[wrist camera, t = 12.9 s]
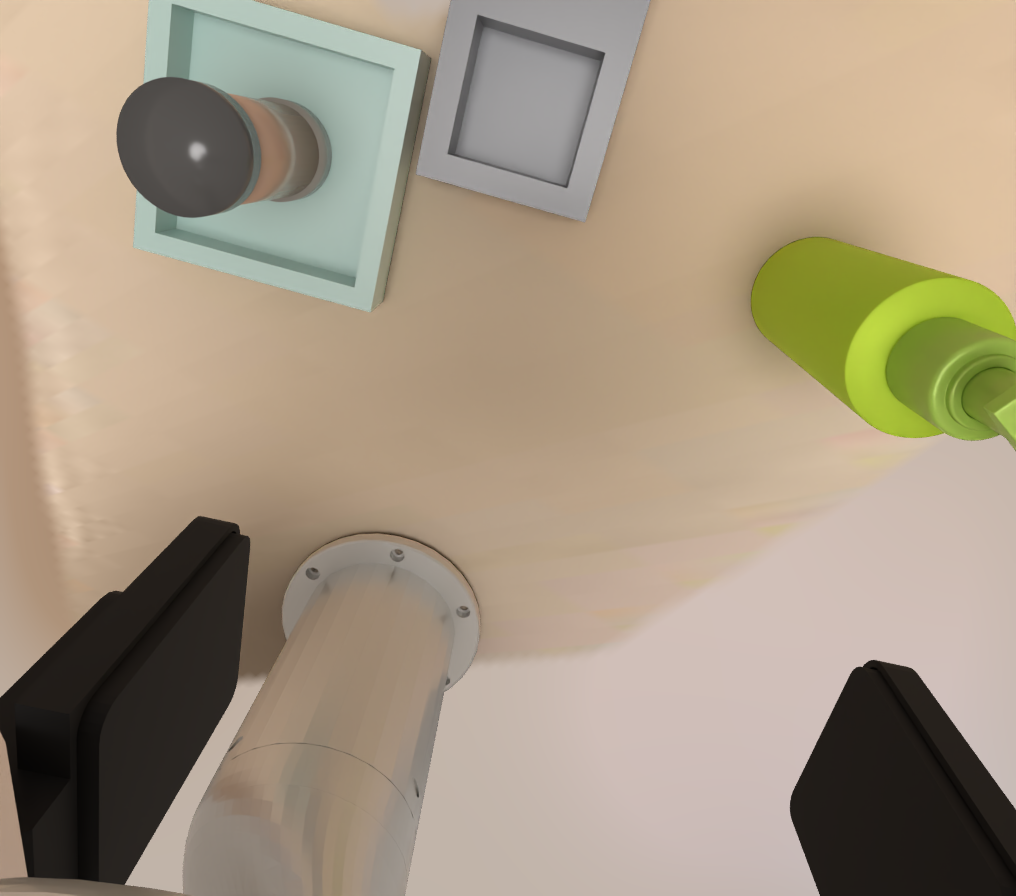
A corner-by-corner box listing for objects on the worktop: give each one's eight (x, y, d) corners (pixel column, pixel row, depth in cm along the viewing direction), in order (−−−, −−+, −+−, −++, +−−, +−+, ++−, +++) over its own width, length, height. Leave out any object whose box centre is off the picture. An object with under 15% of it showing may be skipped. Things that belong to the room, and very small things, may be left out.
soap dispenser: (804, 385, 40) (1028, 587, 21) (727, 291, 38) (898, 421, 19) (899, 313, 38) (1234, 465, 19) (824, 211, 36) (1111, 271, 18)
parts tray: (383, 301, 39) (370, 312, 36) (163, 240, 39) (133, 247, 36) (431, 58, 35) (421, 49, 32) (183, -15, 34) (150, -30, 31)
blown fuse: (323, 211, 37) (237, 232, 27) (234, 186, 37) (113, 198, 26) (339, 114, 35) (253, 98, 25) (245, 87, 35) (120, 60, 25)
